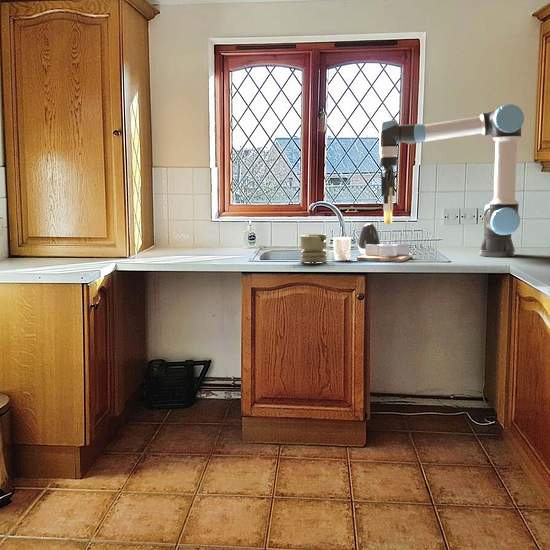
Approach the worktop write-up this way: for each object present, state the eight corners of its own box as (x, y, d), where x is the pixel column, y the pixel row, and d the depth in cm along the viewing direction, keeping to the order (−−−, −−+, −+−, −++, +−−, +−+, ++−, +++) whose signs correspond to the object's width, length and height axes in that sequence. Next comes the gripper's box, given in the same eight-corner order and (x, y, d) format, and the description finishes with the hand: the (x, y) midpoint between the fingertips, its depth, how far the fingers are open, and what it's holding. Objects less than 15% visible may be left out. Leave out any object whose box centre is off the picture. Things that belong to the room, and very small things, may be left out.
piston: (295, 235, 280) (310, 233, 289) (296, 263, 282) (310, 260, 291) (316, 236, 273) (331, 234, 282) (317, 264, 275) (331, 261, 284)
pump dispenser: (355, 256, 301) (355, 223, 299) (361, 253, 311) (361, 222, 309) (377, 256, 297) (377, 223, 295) (382, 254, 307) (382, 222, 305)
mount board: (411, 257, 290) (411, 254, 289) (400, 262, 275) (400, 258, 275) (369, 256, 299) (369, 253, 299) (356, 260, 285) (356, 257, 285)
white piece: (409, 254, 288) (409, 243, 287) (401, 257, 278) (401, 246, 277) (371, 253, 296) (371, 242, 296) (362, 256, 286) (362, 245, 285)
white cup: (339, 261, 283) (339, 239, 282) (330, 259, 290) (329, 237, 288) (354, 260, 287) (354, 237, 285) (344, 258, 293) (344, 236, 292)
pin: (393, 223, 283) (393, 187, 281) (390, 224, 280) (390, 187, 278) (385, 223, 285) (385, 187, 283) (382, 223, 282) (382, 187, 280)
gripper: (386, 157, 288) (386, 209, 291) (373, 156, 273) (373, 211, 276) (402, 156, 284) (402, 209, 287) (390, 156, 270) (390, 211, 273)
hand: (388, 210), depth 282 cm, fingers closed on pin, 4 cm apart
